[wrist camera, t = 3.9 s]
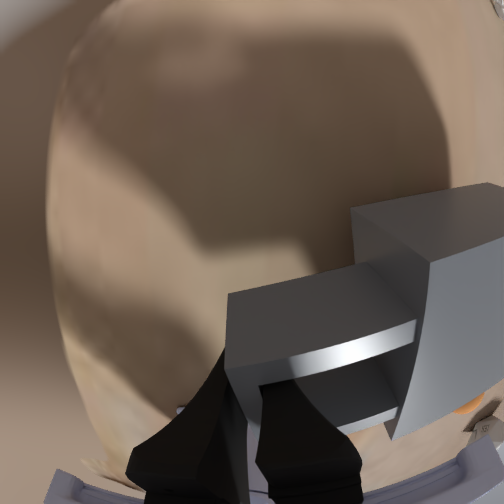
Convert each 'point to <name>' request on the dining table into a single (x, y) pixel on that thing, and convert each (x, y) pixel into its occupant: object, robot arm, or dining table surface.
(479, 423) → the die
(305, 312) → the grey stepped block
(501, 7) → the game piece set
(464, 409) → the egg
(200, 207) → the dining table surface
